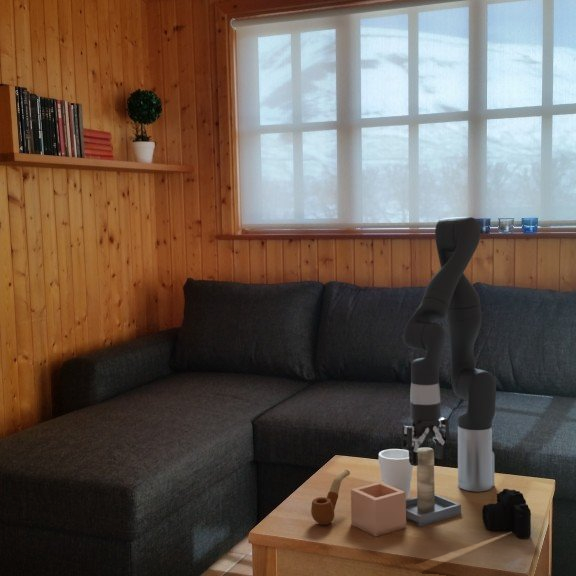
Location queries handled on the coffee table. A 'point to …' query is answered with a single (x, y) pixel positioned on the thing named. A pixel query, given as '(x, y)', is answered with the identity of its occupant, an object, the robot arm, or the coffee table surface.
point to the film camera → (508, 514)
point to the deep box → (378, 508)
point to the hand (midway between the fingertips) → (426, 461)
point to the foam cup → (396, 469)
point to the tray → (442, 511)
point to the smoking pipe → (327, 502)
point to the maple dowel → (425, 480)
